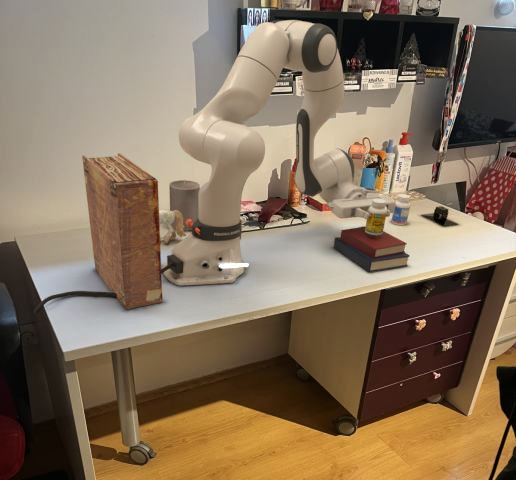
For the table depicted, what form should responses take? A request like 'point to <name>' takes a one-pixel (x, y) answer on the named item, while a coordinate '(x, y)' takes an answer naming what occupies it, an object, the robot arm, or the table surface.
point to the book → (125, 228)
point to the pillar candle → (184, 200)
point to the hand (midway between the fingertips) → (378, 215)
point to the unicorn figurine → (168, 219)
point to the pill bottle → (401, 210)
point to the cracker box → (357, 162)
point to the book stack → (372, 249)
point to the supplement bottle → (376, 217)
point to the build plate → (440, 217)
